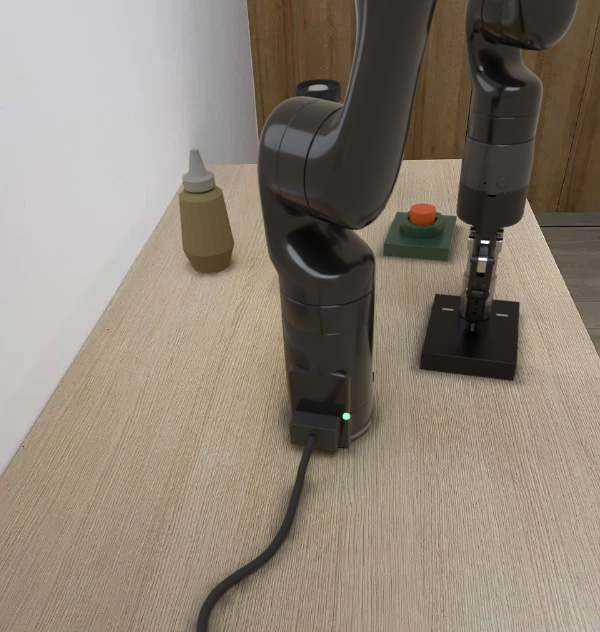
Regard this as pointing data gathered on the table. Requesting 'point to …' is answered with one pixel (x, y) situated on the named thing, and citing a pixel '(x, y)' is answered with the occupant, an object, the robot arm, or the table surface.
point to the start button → (422, 214)
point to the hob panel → (471, 340)
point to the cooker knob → (488, 302)
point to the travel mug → (320, 89)
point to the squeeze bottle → (204, 219)
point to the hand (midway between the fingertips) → (475, 306)
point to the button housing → (420, 238)
